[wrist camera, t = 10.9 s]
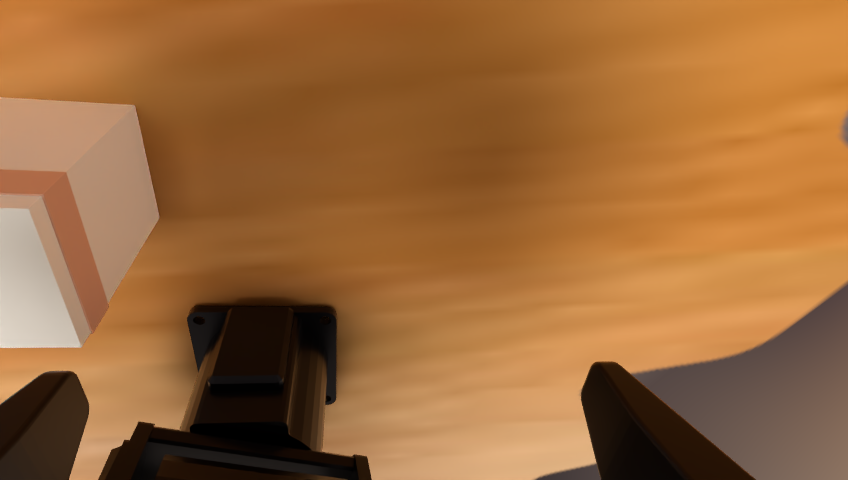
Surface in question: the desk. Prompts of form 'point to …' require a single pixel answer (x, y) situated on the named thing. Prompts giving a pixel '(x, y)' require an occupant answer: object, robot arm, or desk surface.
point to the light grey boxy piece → (67, 216)
